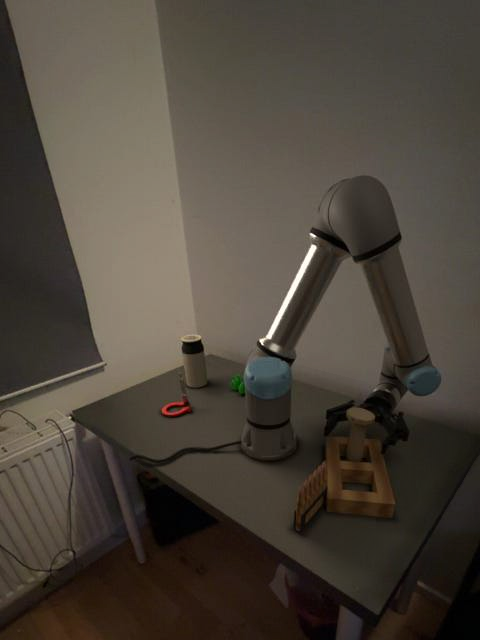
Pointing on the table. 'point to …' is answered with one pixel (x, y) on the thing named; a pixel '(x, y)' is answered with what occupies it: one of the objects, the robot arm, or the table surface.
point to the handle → (357, 432)
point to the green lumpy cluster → (238, 384)
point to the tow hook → (184, 403)
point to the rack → (358, 480)
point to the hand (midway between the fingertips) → (353, 440)
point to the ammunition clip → (311, 498)
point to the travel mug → (194, 361)
